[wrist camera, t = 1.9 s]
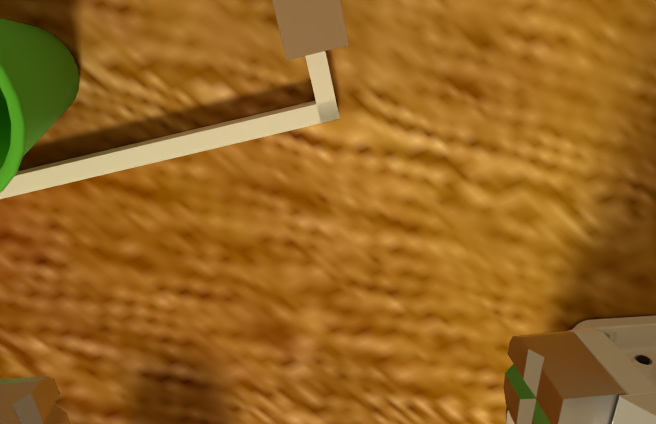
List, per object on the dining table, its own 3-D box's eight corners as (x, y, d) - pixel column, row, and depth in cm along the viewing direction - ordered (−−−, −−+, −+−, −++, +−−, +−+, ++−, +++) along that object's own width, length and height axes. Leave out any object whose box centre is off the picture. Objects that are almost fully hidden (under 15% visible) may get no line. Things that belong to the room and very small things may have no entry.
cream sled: (301, -136, 26) (305, -181, 19) (351, 111, 31) (367, 140, 25) (-145, -23, 26) (-286, -31, 20) (-20, 199, 32) (-98, 249, 25)
